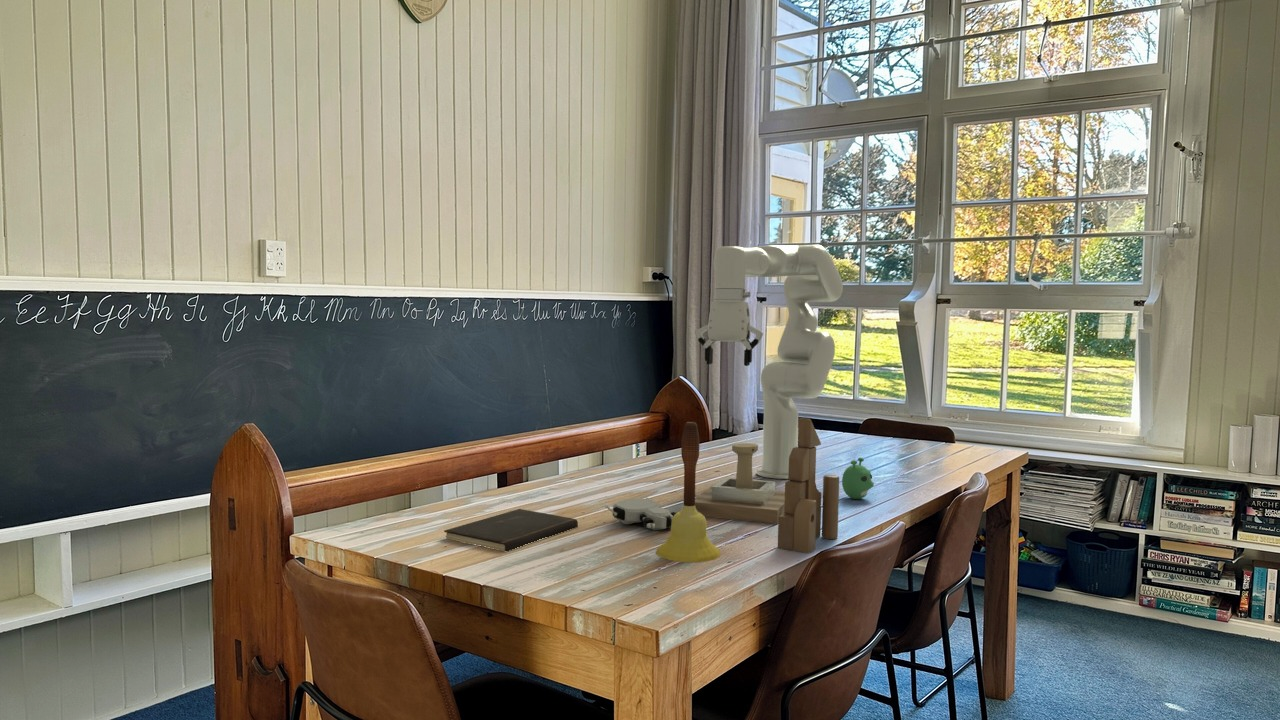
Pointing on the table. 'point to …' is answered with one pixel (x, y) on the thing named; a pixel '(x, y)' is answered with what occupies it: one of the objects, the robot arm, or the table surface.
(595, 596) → the table surface
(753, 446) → the handle
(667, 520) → the robot toy
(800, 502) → the wooden toy
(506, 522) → the hardcover book
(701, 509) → the board
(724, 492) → the collar
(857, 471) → the alien toy
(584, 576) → the table surface
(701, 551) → the handbell
